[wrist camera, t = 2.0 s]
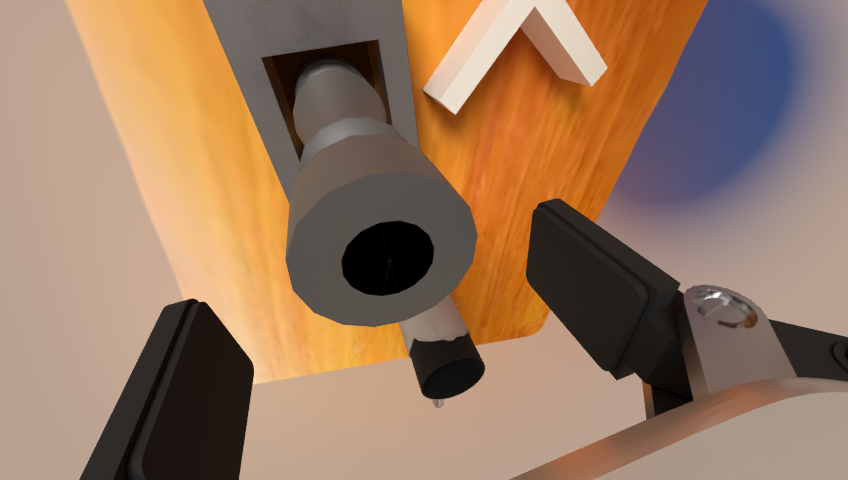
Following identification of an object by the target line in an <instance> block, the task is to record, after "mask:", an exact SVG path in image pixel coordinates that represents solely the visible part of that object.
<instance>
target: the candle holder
mask: <svg viewBox="0 0 848 480" xmlns="http://www.w3.org/2000/svg"><path fill="white" fill-rule="evenodd" d="M294 93H295V99H296V100H295V104H294V108H293V118H294V123H295V129H296V133H297V134H298V136H299V138H300V139H301V141H302V143H303V144H304V150H303V154H302V157H301V161H300V164H299V168H298V171H299V174H298V176H297V180H296V183H295V187H294V190H293V194H292V197H291V201H290V207H289V221H288V234H287V248H286V263H287V267H288V272H289V276H290V280H291V284H292V288H293V291H294V292H295V293H296V294H297V295H298V296H299V297H300V298H301V299H302V300H303V301H304V302H305V303H306V305H307V306H308V307H309V308H310V309H311V310H312V311H313V312H314V313H317V314H319V315H321V316H324V317H326V318H328V319H331V320H333V321H335V322H338V323H340V324H343V325H356V326H370V327H376V326H381V325H386V324H391V323H396V322H401V321H406V320H408V319H410V318H412V317H414V316H416V315H418V314H420V313H422V312H424V311H427V310H429V309H431V308H433V307H434V306H436V305H437V304H438V303H439V302H440V301H441V300H443V299H444V298H445V297H446V296H447V295H448V294H450V293H451V292H452V291H453V290H454V289H455V288H456V287H457V286H458V285H459V283H460V281H461V280H462V278H463V277H464V275H465V273H466V272H467V270H468V269H469V267H470V265H471V264H472V262H473V256H474V251H475V246H476V241H477V235H478V234H477V231H476V227H475V224H474V220H473V217H472V213H471V210H470V207H469V206H468V204H467V203H466V202H465V201H464V200H463V199H462V197H461V196H460V195H459V194H458V193H457V191H456V190H455V189H454V188H453V187H452V186H451V184H450V183H449V182H448V181H447V180H446V178H445V177H444V176H443V175H442V174H441V173H440V171H439V170H438V169H437V168H436V167H435V166H434V164H433V163H432V162H431V161H430V160H429V159H428V158H427V157H426V156H425V155H424V154H423V153H422V152H421V151H420V150H419V149H418V148H417V147H416V146H415V145H412V144H410V143H408V142H407V141H406V140H405V139H404V138H403V137H402V136H401V135H400V134H399V132H398V131H397V130H396V129H395V128H394V127H393V126H392V125H390V124H387V123H386V111H385V108H384V106H383V103H382V101H381V98H380V96H379V94H378V93H377V92H376V91H375V90H374V89H373V88H372V86H371V85H370V84H369V83H368V82H367V81H366V80H365V78H364V77H363V76H362V74H361V73H360V72H359V71H358V70H357V69H356V68H355V67H354V66H353V65H352V64H351V63H350V62H349V61H348V60H346V59H344V58H342V57H339V56H337V55H333V54H320V55H318V56H315V57H313V58H311V59H309V60H307V61H306V63H305V64H304V65H303V66H302V68H301V69H300V70H299V72H298V76H297V80H296V85H295V92H294Z"/></svg>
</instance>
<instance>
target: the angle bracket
mask: <svg viewBox="0 0 848 480" xmlns="http://www.w3.org/2000/svg"><path fill="white" fill-rule="evenodd" d="M519 27H520V28H521V29H522V31H523V32H524V33H525V34H526V36H527V37H528V38H529V40H530V41H531V42H532V43H533V45H534V46H535V47H536V49H537V50H538V51H539V52H540V54H541V55H542V56H543V58H544V59H545V60H546V61H547V63H548V64H549V65H550V67H551V68H552V69H553V70H554V72H555V73H556V74H557V76H558V77H559V78H561V79H565V80H568V81H572V82H576V83H580V84H584V85H587V86H591V87H592V86H593V85H594V84H595V82H596V81H597V80H598V79H599V78H600V77H601V75H602V74H603V73H604V72H605V71H606V70H607V68H608V67H607V66H606V64H605V62H604V61H603V59H602V58H601V56H600V55H599V53H598V51H597V50H596V48H595V47H594V45H593V43H592V42H591V40H590V39H589V37H588V36H587V34H586V32H585V31H584V29H583V28H582V26H581V24H580V23H579V21H578V20H577V18H576V17H575V15H574V13H573V12H572V10H571V9H570V7H569V5H568V4H567V2H566V1H565V0H482V2H481V3H480V5H479V6H478V8H477V9H476V11H475V12H474V14H473V15H472V17H471V18H470V20H469V21H468V23H467V24H466V26H465V27H464V28H463V30H462V31H461V33H460V34H459V36H458V37H457V39H456V40H455V42H454V43H453V45H452V46H451V48H450V49H449V51H448V52H447V54H446V55H445V57H444V58H443V60H442V61H441V63H440V64H439V66H438V67H437V69H436V70H435V72H434V73H433V75H432V76H431V78H430V79H429V81H428V82H427V84H426V85H425V87H424V88H423V91H424V92H426V93H427V94H428V95H429V96H430V97H431V98H433V99H434V100H435V101H436V102H437V103H439V104H440V105H442V106H443V107H445V108H446V109H448V110H449V111H451V112H452V113H453V114H455V115H456V113H457V112H458V111H459V109H460V108H461V107H462V105H463V104H464V102H465V101H466V100H467V98H468V97H469V96H470V94H471V93H472V91H473V90H474V89H475V87H476V86H477V85H478V83H479V82H480V80H481V79H482V78H483V76H484V75H485V74H486V72H487V71H488V69H489V68H490V67H491V65H492V64H493V63H494V61H495V60H496V58H497V57H498V56H499V54H500V53H501V52H502V50H503V49H504V47H505V46H506V45H507V43H508V42H509V41H510V39H511V38H512V36H513V35H514V34H515V32H516V31H517V30H518V28H519Z"/></svg>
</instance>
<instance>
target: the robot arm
mask: <svg viewBox="0 0 848 480" xmlns="http://www.w3.org/2000/svg"><path fill="white" fill-rule="evenodd" d="M526 278H527V281H528V283H529V284H530V285H531V287H532V288H533V289H534V290H535V291H536V292H537V294H538V295H539V296H540V297H541V298H542V300H543V301H544V302H545V303H546V304H547V305H548V307H549V308H550V309H551V310H552V311H553V312H554V314H555V315H556V316H557V317H558V318H559V319H560V321H561V322H562V323H563V324H564V325H565V326H566V328H567V329H568V330H569V331H570V332H571V333H572V335H573V336H574V337H575V338H576V339H577V341H578V342H579V343H580V344H581V345H582V347H583V348H584V349H585V350H586V351H587V352H588V354H589V355H590V356H591V357H592V358H593V360H594V361H595V362H596V363H597V364H598V365H599V366H600V367H601V368H602V369H603V370H605V371H609V372H610V373H611V374H612V375H613V377H614V378H615V379H616V380H619V379H621V378H624V377H626V376H629V375H631V374H633V373H634V372H635V373H636V374H637V375H638V376H639V377H640V378H641V379H642V384H643V393H644V401H645V410H646V418H647V420H645V421H643V422H641V423H638V424H636V425H634V426H632V427H629V428H627V429H625V430H622V431H620V432H618V433H616V434H613V435H611V436H608V437H606V438H604V439H602V440H599V441H597V442H595V443H592V444H590V445H588V446H585V447H583V448H581V449H579V450H576V451H574V452H572V453H569V454H567V455H565V456H563V457H560V458H558V459H555V460H553V461H551V462H549V463H546V464H544V465H542V466H539V467H537V468H535V469H533V470H530V471H528V472H526V473H524V474H521V475H519V476H517V477H514V478H512V479H510V480H848V337H844V336H840V335H836V334H831V333H827V332H822V331H818V330H814V329H809V328H805V327H800V326H796V325H792V324H787V323H783V322H779V321H774V320H770V319H768V318H767V316H766V315H765V314H764V312H763V311H762V310H761V308H760V307H759V306H757V305H756V304H755V303H754V302H752V301H751V300H750V299H748V298H746V297H745V296H742V295H741V294H739V293H737V292H734V291H732V290H729V289H727V288H722V287H718V286H713V285H698V286H693V287H691V288H689V289H687V290H686V292H685V293H684V294H683V293H682V292H680V291H679V290H678V288H679V285H680V283H679V282H678V281H677V280H675V279H674V278H672V277H671V276H669V275H668V274H667V273H665V272H664V271H662V270H661V269H659V268H658V267H657V266H655V265H654V264H652V263H651V262H649V261H648V260H647V259H645V258H644V257H642V256H641V255H639V254H638V253H637V252H635V251H634V250H632V249H631V248H629V247H628V246H627V245H625V244H624V243H622V242H621V241H620V240H618V239H617V238H615V237H614V236H612V235H611V234H610V233H608V232H607V231H605V230H604V229H602V228H601V227H599V226H598V225H597V224H595V223H594V222H592V221H591V220H590V219H588V218H587V217H585V216H584V215H582V214H581V213H580V212H578V211H577V210H575V209H574V208H572V207H571V206H570V205H568V204H567V203H565V202H564V201H562V200H561V199H553V200H549V201H545V202H542V203H539V204H538V206H537V209H535V210H534V211H533V215H532V224H531V233H530V242H529V251H528V259H527V268H526ZM253 377H254V367H253V364H252V361H251V360H250V358H249V357H248V356H247V355H246V353H245V352H244V351H243V349H242V348H241V347H240V345H239V344H238V343H237V342H236V340H235V339H234V338H233V336H232V335H231V334H230V332H229V331H228V330H227V329H226V327H225V326H224V325H223V323H222V322H221V321H220V319H219V318H218V317H217V316H216V314H215V313H214V312H213V310H212V309H211V308H210V307H209V305H208V304H207V303H206V302H199V301H198V300H196V299H188V300H185V301H181V302H178V303H174V304H170V305H167V306H166V307H164V309H163V310H162V312H161V314H160V316H159V318H158V320H157V322H156V324H155V326H154V329H153V331H152V332H151V334H150V337H149V339H148V341H147V343H146V345H145V347H144V349H143V351H142V353H141V355H140V357H139V359H138V361H137V363H136V365H135V368H134V369H133V371H132V373H131V375H130V377H129V379H128V382H127V383H126V386H125V388H124V390H123V392H122V394H121V396H120V398H119V400H118V402H117V404H116V406H115V408H114V410H113V412H112V414H111V416H110V418H109V420H108V422H107V424H106V427H105V428H104V431H103V433H102V435H101V437H100V439H99V441H98V443H97V445H96V447H95V449H94V451H93V453H92V455H91V457H90V459H89V461H88V463H87V465H86V467H85V469H84V471H83V473H82V475H81V477H80V480H239V474H240V467H241V460H242V453H243V446H244V439H245V432H246V425H247V417H248V411H249V404H250V396H251V390H252V384H253Z"/></svg>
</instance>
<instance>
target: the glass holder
mask: <svg viewBox="0 0 848 480" xmlns="http://www.w3.org/2000/svg"><path fill="white" fill-rule="evenodd" d="M399 325H400V328H401V331H402V335H403V338H404V341H405V345H406V348H407V351H408V355H409V357H410V358H411V359H412V362H413V366H414V369H415V372H416V375H417V379H418V382H419V385H420V388H421V392H422V394H423V395H424V396H425V397H427V398H430V399H432V401H433V404H434V406H435V407H436V408H440V407H442V406H443V404H444V399H445V398H450V397H453V396H456V395H459V394H461V393H463V392H465V391H466V390H468V389H469V388H471V387H472V386H474V385H475V384H476V383H477V382H478V381H479V380H480V379H481V377H482V376H483V374H484V371H485V365H484V363H483V361H482V359H481V357H480V355H479V353H478V351H477V349H476V347H475V345H474V343H473V341H472V339H471V337H470V333H469V330H468V328H467V326H466V324H465V322H464V320H463V319H462V317H461V315H460V313H459V311H458V309H457V307H456V305H455V303H454V301H453V299H452V297H451V295H450V294H448V295H447V296H446V297H445V298H444V299H443V300H441V301H440V302H439V303H438V304H437V305H436V306H434V307H433V308H431V309H429V310H427V311H424V312H422V313H420V314H418V315H416V316H414V317H412V318H410V319H408V320H406V321H401V322H399ZM437 399H438V400H437Z"/></svg>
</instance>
